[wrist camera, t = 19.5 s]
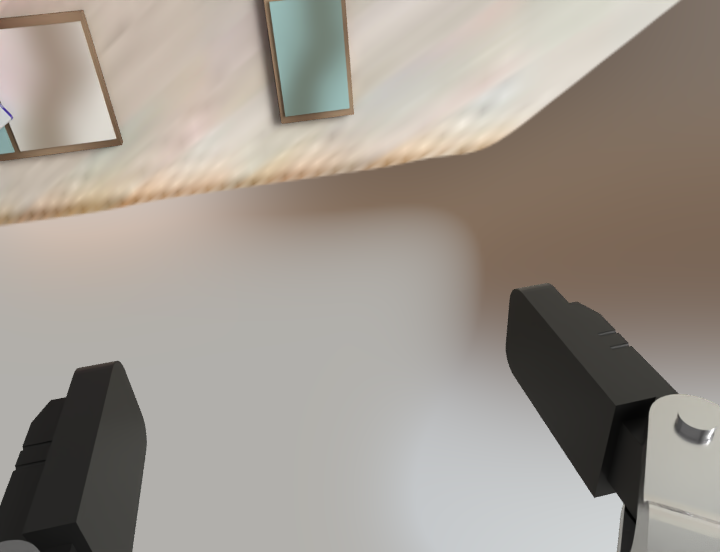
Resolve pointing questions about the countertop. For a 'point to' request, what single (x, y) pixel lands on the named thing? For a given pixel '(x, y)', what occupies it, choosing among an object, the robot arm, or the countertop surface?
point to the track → (89, 92)
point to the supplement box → (4, 116)
